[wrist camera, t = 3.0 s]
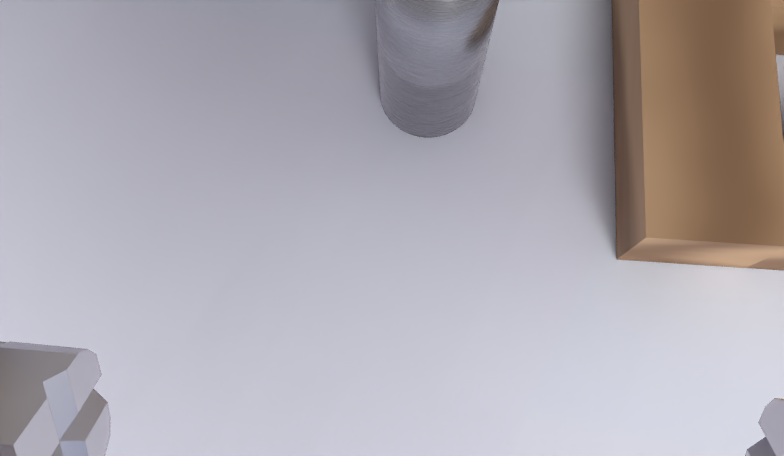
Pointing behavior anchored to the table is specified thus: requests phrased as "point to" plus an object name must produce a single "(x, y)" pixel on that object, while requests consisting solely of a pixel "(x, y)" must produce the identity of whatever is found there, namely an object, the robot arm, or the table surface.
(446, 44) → the pin
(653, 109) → the hole plate
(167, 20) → the table surface
